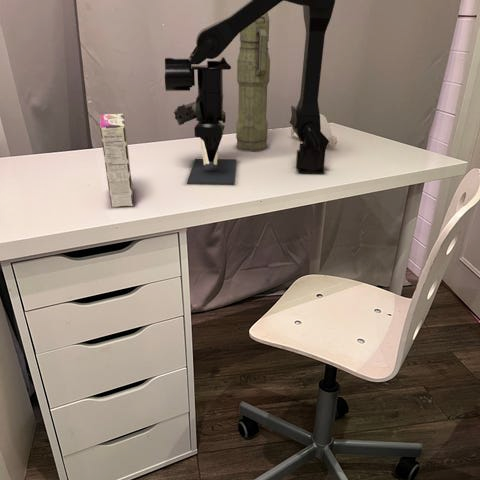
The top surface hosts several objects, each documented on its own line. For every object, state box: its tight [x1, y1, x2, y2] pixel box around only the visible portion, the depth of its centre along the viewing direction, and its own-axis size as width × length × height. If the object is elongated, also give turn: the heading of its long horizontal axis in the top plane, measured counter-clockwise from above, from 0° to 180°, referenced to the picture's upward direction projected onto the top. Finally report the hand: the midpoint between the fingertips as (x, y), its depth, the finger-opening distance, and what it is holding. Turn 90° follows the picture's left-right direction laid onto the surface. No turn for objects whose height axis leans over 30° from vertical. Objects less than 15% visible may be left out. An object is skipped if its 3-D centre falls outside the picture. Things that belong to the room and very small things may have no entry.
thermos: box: [235, 11, 271, 152], centre depth 141 cm, size 9×12×35 cm
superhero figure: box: [290, 113, 338, 148], centre depth 153 cm, size 10×9×20 cm
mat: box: [186, 158, 237, 186], centre depth 129 cm, size 11×20×1 cm, turn 179°
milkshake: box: [200, 138, 219, 171], centre depth 127 cm, size 5×5×10 cm
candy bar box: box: [99, 113, 135, 209], centre depth 107 cm, size 11×5×16 cm, turn 12°
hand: (211, 159), depth 128 cm, fingers closed on milkshake, 4 cm apart
